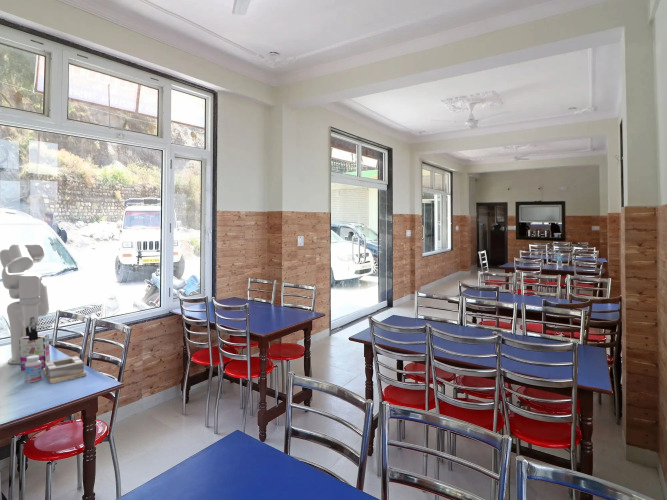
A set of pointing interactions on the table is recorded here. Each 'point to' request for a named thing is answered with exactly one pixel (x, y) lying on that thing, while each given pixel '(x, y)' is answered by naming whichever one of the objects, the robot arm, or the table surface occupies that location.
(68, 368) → the collar block
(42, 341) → the candy bar box
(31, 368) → the pill bottle
